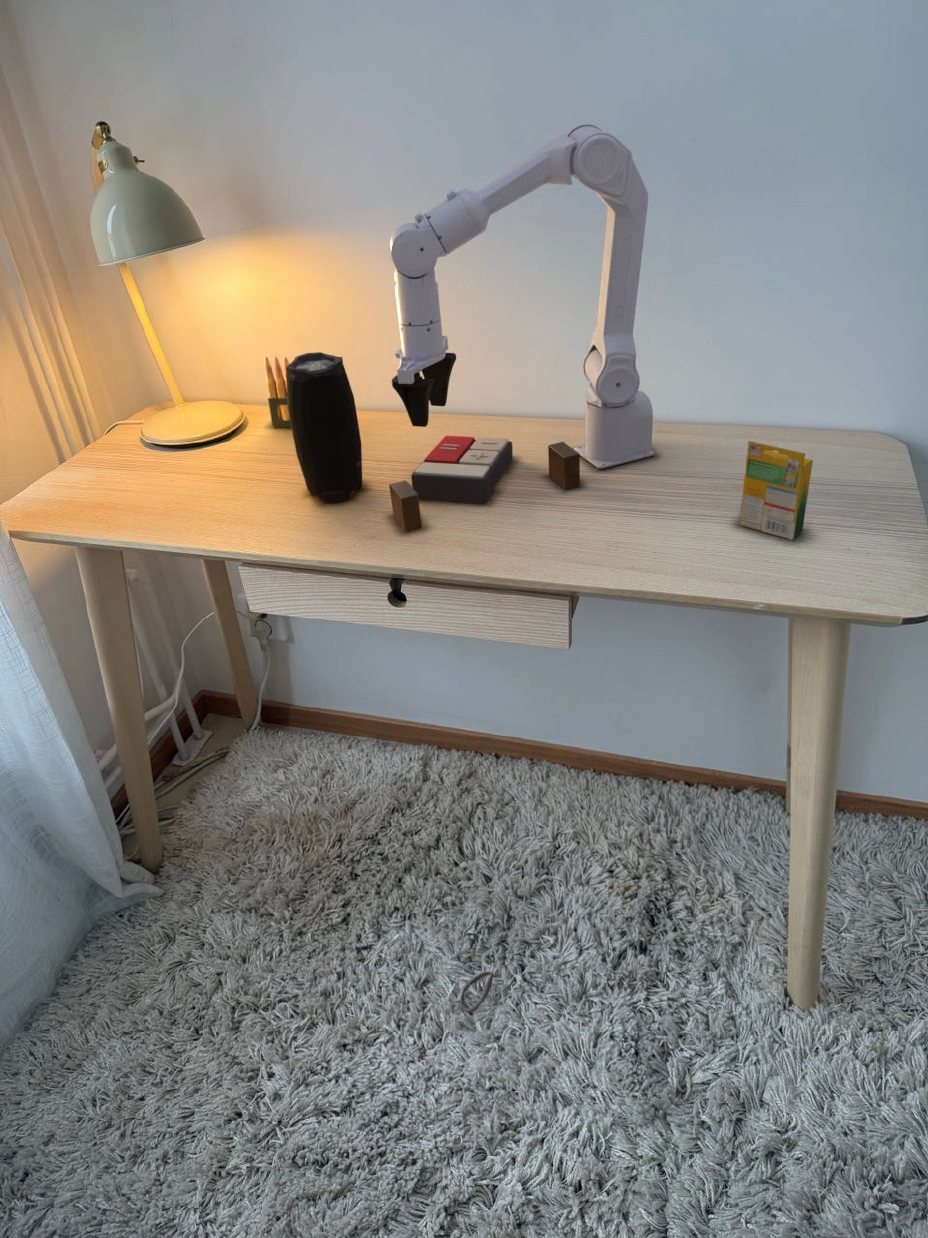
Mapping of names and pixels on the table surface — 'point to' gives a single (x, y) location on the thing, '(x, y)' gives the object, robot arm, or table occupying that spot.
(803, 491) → the crayon box
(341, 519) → the table surface
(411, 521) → the corner blocks
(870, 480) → the table surface
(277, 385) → the ammunition clip
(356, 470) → the portable speaker
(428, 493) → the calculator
